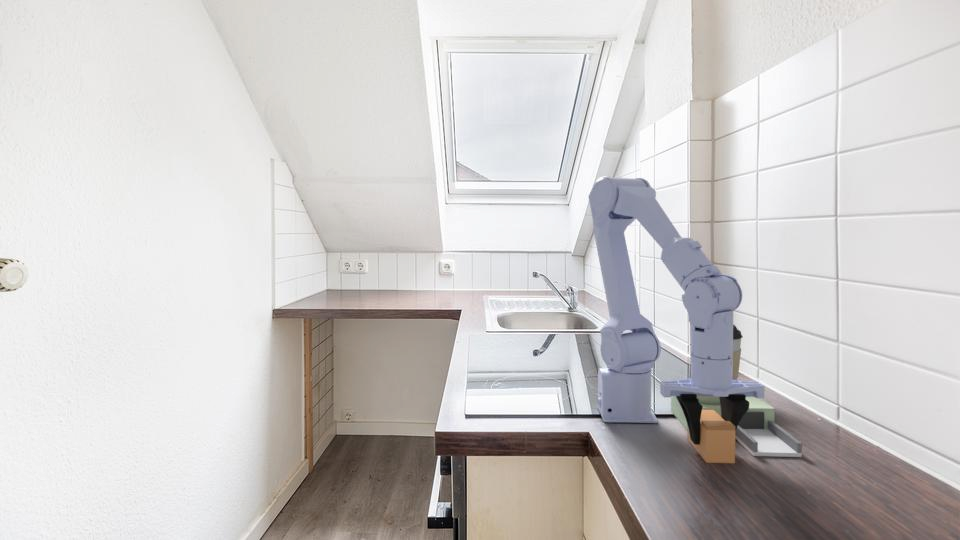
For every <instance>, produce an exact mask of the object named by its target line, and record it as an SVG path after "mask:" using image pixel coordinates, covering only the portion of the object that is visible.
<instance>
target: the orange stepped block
mask: <svg viewBox="0 0 960 540" xmlns="http://www.w3.org/2000/svg"><path fill="white" fill-rule="evenodd" d="M687 440H688V441H689V442H690V443H691V445H692V446H693V448H694V449H695V450H696V451H697V453H698V455H700V457H701V458H702V459H703V460H704V462H705V463H707V464H708V463H709V464H710V463H711V464H714V463H715V464H736V439H735V426H734V425H733V424H732V423H731V422H730V421H725V420H724V419H723V418H722V417H721V416H719V415H718V414H717V413H716V412H715V411H714V410H702V412H701V419H700V445H696V444H694V443H693V442H692V440H691V439H690V433H689V428H688V430H687Z"/></svg>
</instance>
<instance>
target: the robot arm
mask: <svg viewBox="0 0 960 540" xmlns="http://www.w3.org/2000/svg"><path fill="white" fill-rule="evenodd" d="M656 197H657V191H656V190H655V189H654V188H653V187H652V186H651V184H650V183H649V181H648V180H646V179H645V178H642V177H636V178H629V177H628V178H627V177H625V178H623V177H610V176H605V175H604V176H601V177H599V178H598V179H597V180H596V181H595V183H594V184H593V186H592V188H591V191H590V192H589V195H588V201H589V207H590V210H591V211H590V212H591V217H592V222H593V225H592V226H593V235H594V240H595V245H596V251H597V256H598V261H599V266H600V267H599V268H600V272H601V277H602V282H603V283H602V284H603V288H604V294H605V298H606V302H607V303H606V304H607V307H608V308H607V309H608V314H609V319H608V320H607V321H606V322H605V324H603V326H602V327H601V329H600V331H599V332H600V336H601V338H600V339H601V342H600V356H601V359H602V361H603V362H604V364H605V365H606V367H600V368H598V371H597V408H598V410H599V414H600V416H601V419H602V421H603V422H604V423H636V424H637V423H640V424H641V423H642V424H643V423H644V424H657V423H659V419H658V418H657V417H656V415H655V414H654V412H653V411H652V369H654V367H655V362H656V361H658V360H659V358H660V356H661V352H662V351H661V350H662V348H661V343H660V342H661V341H660V340H659V338H658V336H657V335H656V332H655V330H654V327H653V323H652V322H651V321H650V320H649V319H648V318H647V317H645V316H643V314H641V312H640V305H639V301H638V297H637V291H636V287H635V281H634V275H633V272H632V271H633V270H632V265H631V261H630V256H629V252H628V246H627V241H626V236H625V232H626V230H627V228H628V226H631V225H632V224H633V222H635V221H636V220H637V221H638V222H639V224H640V226H642V227H643V229H644V230H645V231H646V232H647V233H648V235H650V237H652V239H653V240H654V241H655V242H656V244H658V246H659V247H660V248H661V249H662V250H661V255H660V260H661V262H662V263H663V264H664V266H665V267H666V269H667V270H668V271H669V273H670V274H671V275H672V277H673V278H674V280H675V281H676V282H677V284H678V285H679V286H680V288H681V290H682V291H683V292H684V293H683V294H681V300H682V303H683V306H684V308H685V309H686V311H687V314H688V322H689V324H690V378H686V379H677V380H660V381H659V382H660V383H659V384H660V385H659V388H660V389H659V390H660V391H659V392H660V393H659V394H660V395H661V396H662V398H671V396H676V398H677V400H678V402H679V404H680V406H681V408H682V410H683V413H684V415H685V418H686V421H687V424H688V428H689V433H690V439H691V440H692V442H693V443H694V444H696V445H700V419H701V412H702V408H703V406H702V405H701V404H700V403H699V399H697V396H717V397H719V399H720V406H721V417H722V418H723V419H724V420H725V421H730V422H731V423H732V424H733V425H734V426H735V431H736V429H737V426H738V424H739V422H740V420H741V419H742V417H743V416H744V414H745V413H746V412H747V411H748V409H749V402H748V401H747V400H746V397H756V398H760V399H764V398H765V385H764V384H762V383H760V382H759V381H746V380H738V379H737V380H732V378H733V325H734V311H736V310H737V309H738V308H739V307H740V305H741V303H742V300H743V291H742V288H741V285H740V284H739V282H738V280H737V278H735V277H734V276H732V275H729V274H725V273H723V272H721V269H719V268H718V266H717V265H714V264H713V263H712V262H711V260H710V258H709V257H707V255H706V254H705V253H704V251H703V250H702V249H701V248H703V245H702V244H701V243H700V242H699V241H698V240H694V239H693V238H690V237H682V236H681V235H680V233H679V231H678V230H677V228H676V227H675V226H674V224H673V223H672V221H671V220H670V218H669V217H668V215H667V213H666V212H665V211H664V209H663V208H662V206H661V204H660V203H659V201H658V200H657V199H656ZM625 331H630V332H625Z"/></svg>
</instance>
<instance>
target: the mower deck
mask: <svg viewBox="0 0 960 540" xmlns="http://www.w3.org/2000/svg"><path fill="white" fill-rule="evenodd" d="M697 399H699V403H700V404H701V405H702V406H703V408H702V410H714V411H715V412H716V413H717V414H718V415H719V416H721V406H720V399H719V397H717V396H697ZM746 400H747V401H748V402H749V409H748V411H747V412H746V413H745V414H744V416H743V417H742V419H741V420H740V422H739V424H738V426H737V429H736V431H735V441H738V443H739V444H740V445H741V446H742V447H744V449H745V450H746V451H748V452H749V454H751V455H752V456H753V457H780V458H781V457H782V458H783V457H784V458H785V457H786V458H789V457H790V458H802V455H803V454H802V453H803V442H802V441H800V440H798V439H797V438H796V437H794V436H793V435H792V434H791V433H789V432H788V431H787V430H785V429H784V428H783V427H781V426H780V425H779V424H777V423H776V422H775V414H776V413H775V411H776V410H775V409H776V408H775V407H773V406H772V405H770V404H769V403H768V402H766V401H765V400H764V399H763V398H756V397H746ZM670 412H671V413H672V414H673V415H674V416H675V418H676V419H677V420H678V421H679V422H680V424H681V425H682V426H683V427H684V429H685V430H686V431H688V424H687V421H686V418H685V415H684V413H683V410H682V408H681V406H680V404H679V402H678V400H677V398H676V396H671V397H670Z"/></svg>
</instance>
